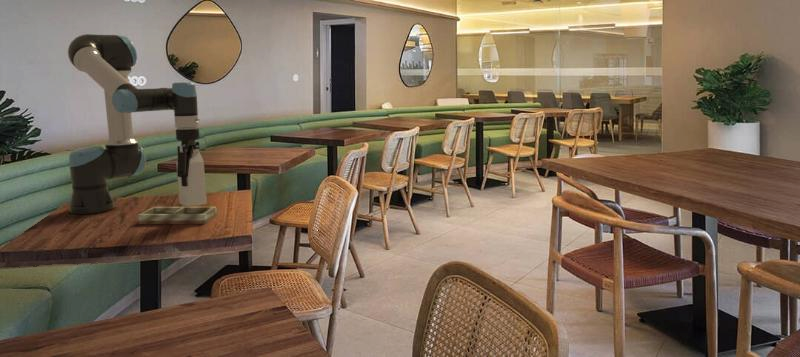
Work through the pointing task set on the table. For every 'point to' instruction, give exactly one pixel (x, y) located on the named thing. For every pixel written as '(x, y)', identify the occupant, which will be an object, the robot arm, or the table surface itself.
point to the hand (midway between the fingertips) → (192, 192)
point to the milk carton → (194, 181)
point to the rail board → (177, 215)
